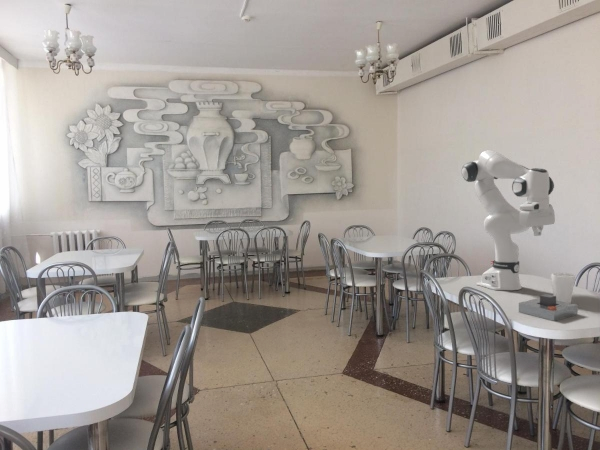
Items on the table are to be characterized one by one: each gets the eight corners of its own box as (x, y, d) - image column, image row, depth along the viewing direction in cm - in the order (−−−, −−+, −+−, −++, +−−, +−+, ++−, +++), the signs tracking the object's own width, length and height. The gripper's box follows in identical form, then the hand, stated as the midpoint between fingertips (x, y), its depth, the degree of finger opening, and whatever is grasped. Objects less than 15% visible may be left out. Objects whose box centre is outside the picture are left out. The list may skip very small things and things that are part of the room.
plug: (539, 312, 205) (540, 295, 204) (546, 311, 207) (546, 294, 206) (549, 315, 201) (549, 297, 200) (555, 313, 203) (556, 296, 203)
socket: (518, 312, 207) (518, 300, 207) (541, 306, 215) (542, 295, 215) (554, 320, 193) (554, 308, 193) (577, 314, 201) (577, 302, 201)
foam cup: (564, 306, 213) (564, 277, 212) (546, 302, 222) (546, 274, 220) (579, 303, 217) (579, 275, 216) (560, 299, 225) (561, 272, 224)
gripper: (545, 203, 223) (545, 233, 224) (517, 206, 213) (516, 237, 214) (558, 203, 217) (558, 234, 219) (530, 206, 207) (529, 238, 209)
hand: (537, 235), depth 216 cm, fingers closed
